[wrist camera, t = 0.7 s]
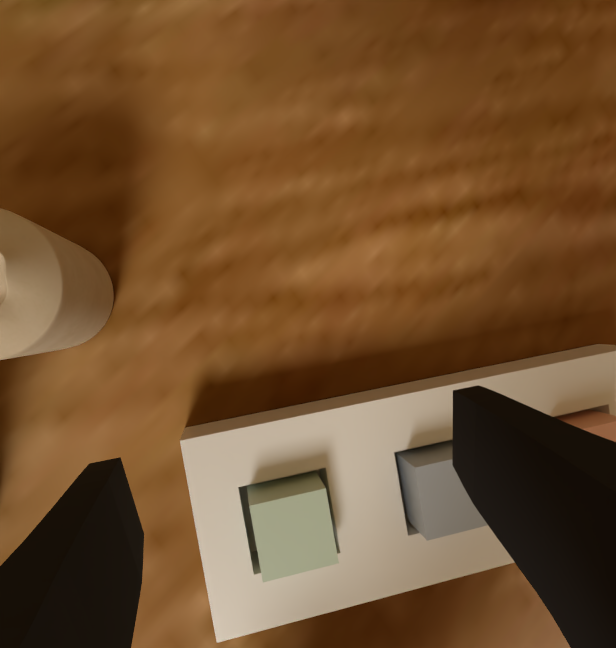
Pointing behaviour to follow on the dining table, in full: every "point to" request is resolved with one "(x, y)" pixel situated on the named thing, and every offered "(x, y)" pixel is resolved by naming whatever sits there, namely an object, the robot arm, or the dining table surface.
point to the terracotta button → (593, 422)
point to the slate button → (435, 492)
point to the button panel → (358, 486)
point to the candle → (47, 290)
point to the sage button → (292, 525)
